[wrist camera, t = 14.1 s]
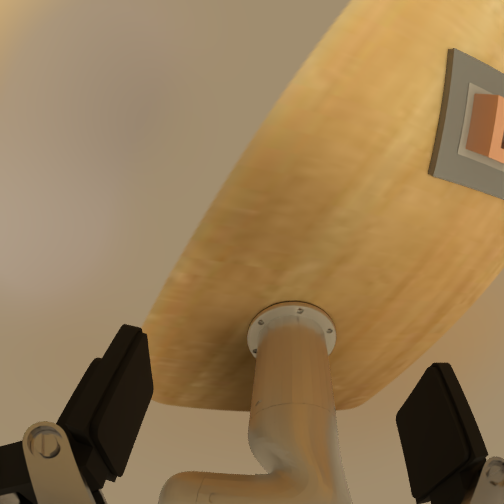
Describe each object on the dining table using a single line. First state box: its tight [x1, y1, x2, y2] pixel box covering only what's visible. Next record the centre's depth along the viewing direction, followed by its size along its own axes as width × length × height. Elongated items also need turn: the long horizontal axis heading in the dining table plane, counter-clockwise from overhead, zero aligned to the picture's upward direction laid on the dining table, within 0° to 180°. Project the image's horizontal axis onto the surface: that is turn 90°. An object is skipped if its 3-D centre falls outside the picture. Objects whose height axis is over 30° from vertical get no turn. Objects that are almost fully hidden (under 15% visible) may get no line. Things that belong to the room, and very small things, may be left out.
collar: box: [465, 94, 504, 164], centre depth 25 cm, size 7×7×5 cm
